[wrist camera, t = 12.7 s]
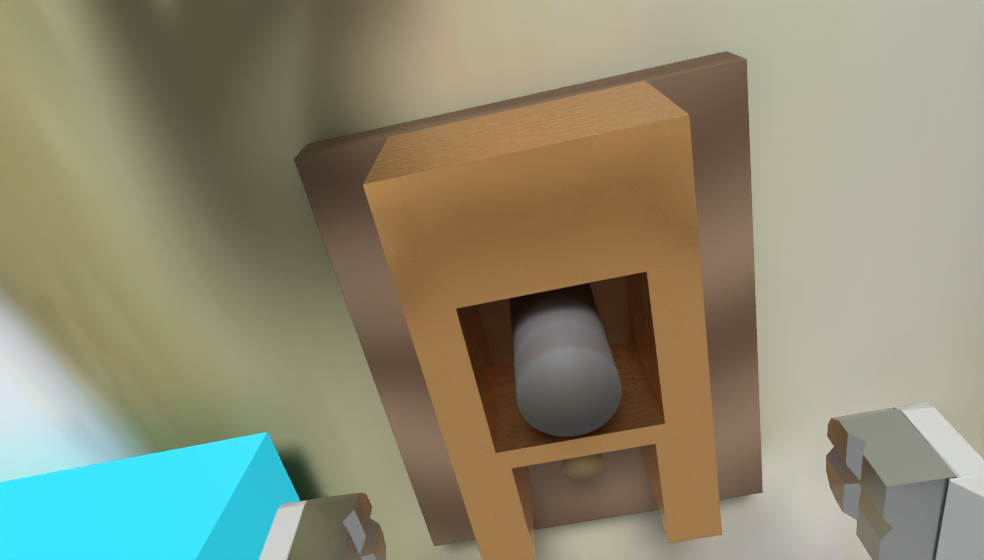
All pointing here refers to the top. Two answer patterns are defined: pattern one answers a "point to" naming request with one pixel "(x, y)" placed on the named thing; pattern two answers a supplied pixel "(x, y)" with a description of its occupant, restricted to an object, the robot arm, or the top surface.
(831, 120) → the top surface
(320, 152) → the flange base
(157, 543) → the prism
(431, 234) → the wooden notched block
